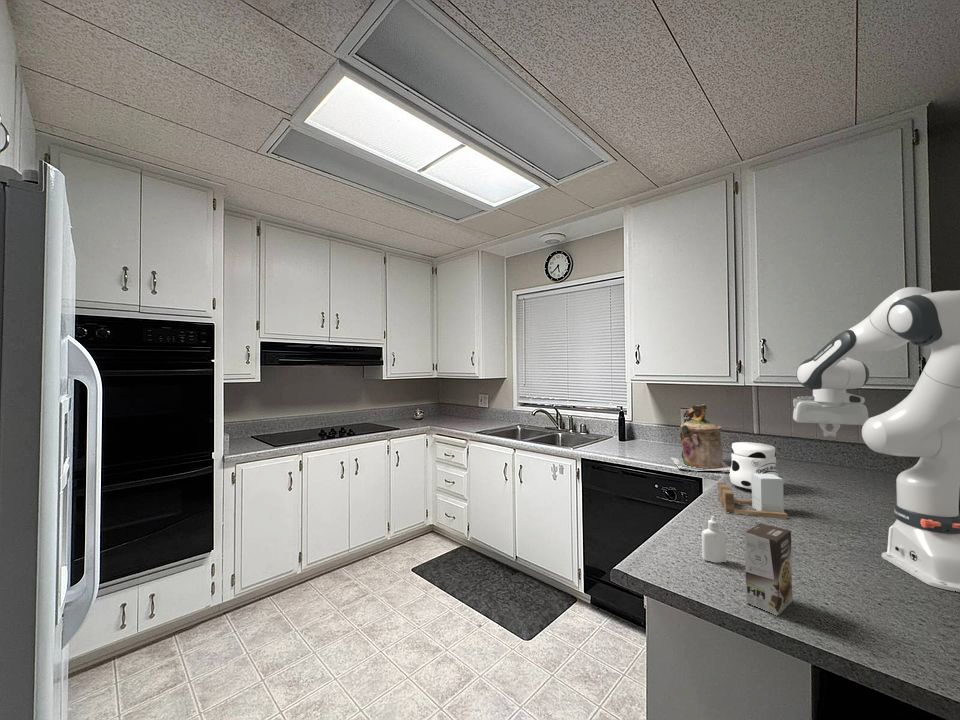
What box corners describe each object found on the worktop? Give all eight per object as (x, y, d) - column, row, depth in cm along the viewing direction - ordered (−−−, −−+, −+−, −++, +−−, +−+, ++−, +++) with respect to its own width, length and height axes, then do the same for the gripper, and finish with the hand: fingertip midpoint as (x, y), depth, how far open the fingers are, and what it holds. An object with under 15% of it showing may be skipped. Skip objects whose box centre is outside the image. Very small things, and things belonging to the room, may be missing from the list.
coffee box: (778, 617, 87) (776, 541, 87) (744, 603, 92) (743, 531, 92) (794, 602, 92) (792, 530, 92) (761, 589, 97) (759, 521, 97)
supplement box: (784, 515, 142) (784, 479, 142) (760, 514, 143) (760, 478, 144) (774, 508, 149) (773, 473, 149) (751, 507, 151) (750, 472, 151)
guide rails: (787, 519, 139) (787, 514, 139) (726, 513, 145) (726, 509, 145) (775, 506, 151) (774, 502, 151) (719, 501, 157) (719, 497, 157)
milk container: (779, 498, 160) (777, 451, 160) (727, 490, 170) (726, 447, 170) (780, 486, 173) (779, 444, 173) (732, 480, 184) (731, 440, 184)
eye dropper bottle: (704, 554, 115) (703, 511, 115) (727, 560, 112) (726, 516, 112) (700, 560, 112) (699, 516, 112) (724, 566, 108) (723, 521, 108)
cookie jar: (720, 462, 217) (719, 401, 217) (736, 474, 193) (734, 406, 193) (670, 459, 223) (668, 401, 223) (679, 471, 199) (677, 406, 200)
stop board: (734, 514, 144) (733, 494, 144) (725, 513, 145) (725, 493, 145) (726, 501, 156) (725, 483, 157) (718, 501, 157) (718, 483, 157)
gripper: (796, 396, 143) (796, 436, 143) (870, 398, 136) (871, 440, 136) (789, 395, 149) (790, 433, 149) (861, 396, 142) (861, 436, 142)
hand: (829, 436), depth 142 cm, fingers closed
